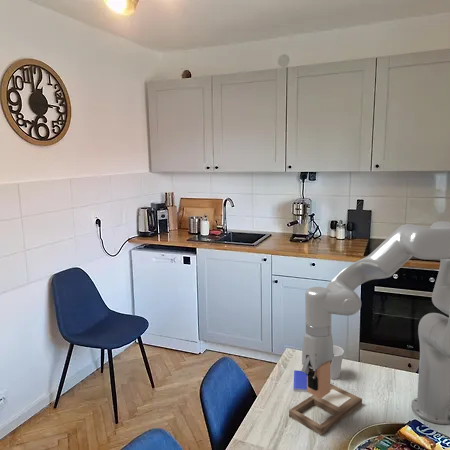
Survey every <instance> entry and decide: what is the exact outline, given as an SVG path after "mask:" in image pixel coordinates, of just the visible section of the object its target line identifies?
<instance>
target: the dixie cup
mask: <svg viewBox="0 0 450 450" xmlns="http://www.w3.org/2000/svg"><path fill="white" fill-rule="evenodd" d="M333 353H334V357H333V359H332V362H331V364H330V380H337V379H339V378H340V377H341V376H340V375H341V368H342V363H343V356H344V353H345V350H344V349H343V348H342V347H340V346H339V345H334V344H333Z"/></svg>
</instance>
